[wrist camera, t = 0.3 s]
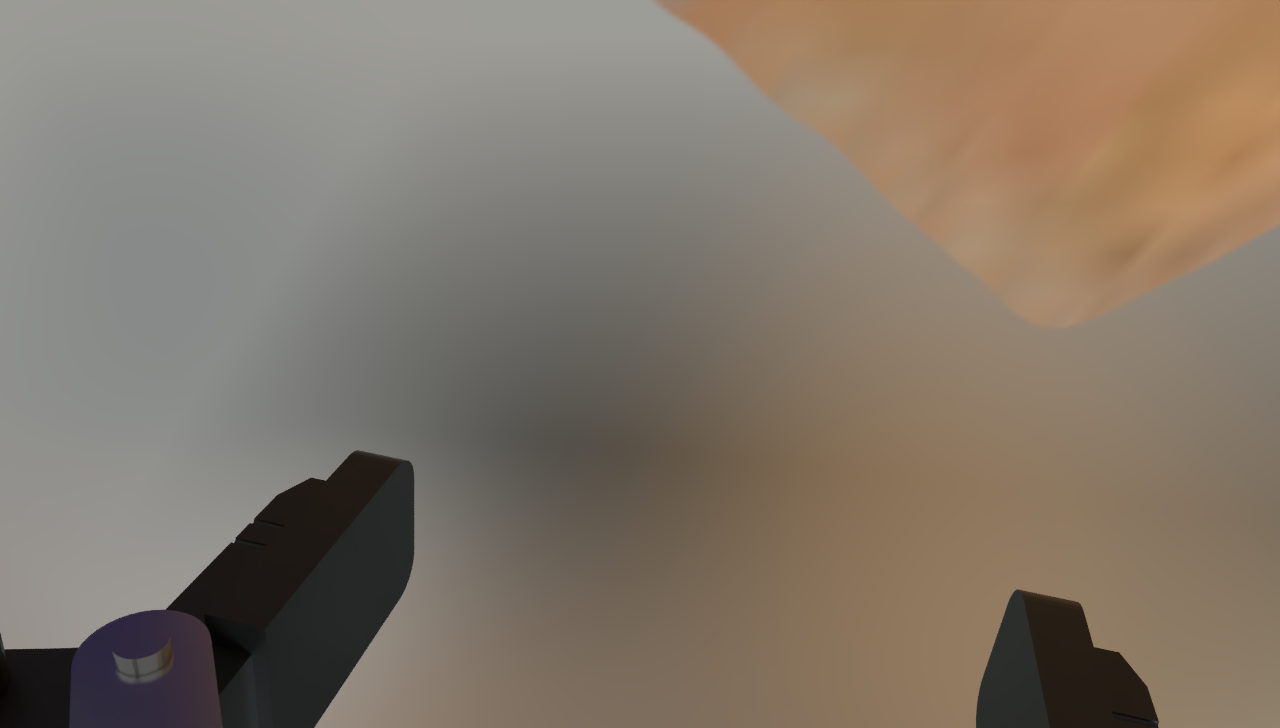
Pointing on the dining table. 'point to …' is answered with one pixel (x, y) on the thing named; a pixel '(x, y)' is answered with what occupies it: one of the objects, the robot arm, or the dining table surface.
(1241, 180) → the dining table surface
